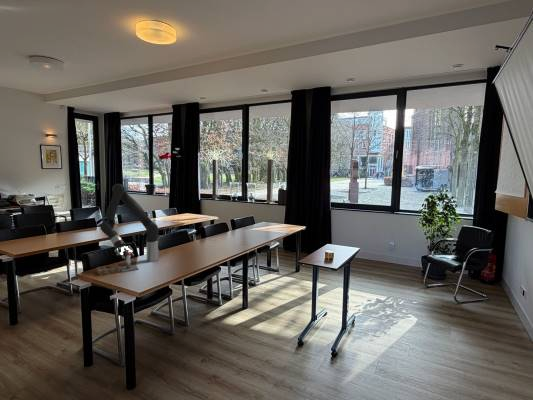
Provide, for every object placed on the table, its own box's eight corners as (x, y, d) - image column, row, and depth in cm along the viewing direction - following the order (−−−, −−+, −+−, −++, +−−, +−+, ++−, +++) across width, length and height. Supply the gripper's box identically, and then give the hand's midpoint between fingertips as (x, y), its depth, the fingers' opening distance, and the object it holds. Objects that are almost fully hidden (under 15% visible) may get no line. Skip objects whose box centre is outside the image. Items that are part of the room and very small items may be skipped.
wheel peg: (130, 267, 250) (130, 252, 249) (131, 268, 247) (131, 253, 246) (125, 267, 248) (124, 252, 247) (126, 269, 244) (126, 253, 243)
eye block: (117, 268, 249) (116, 264, 248) (120, 272, 239) (120, 267, 239) (97, 271, 240) (97, 267, 240) (99, 275, 231) (99, 271, 231)
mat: (134, 266, 256) (134, 265, 256) (138, 269, 246) (138, 268, 246) (118, 268, 249) (118, 267, 248) (122, 272, 239) (122, 271, 239)
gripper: (112, 240, 242) (123, 257, 239) (127, 237, 255) (138, 252, 252) (107, 247, 245) (119, 263, 241) (122, 243, 258) (133, 258, 254)
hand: (128, 257), depth 246 cm, fingers open, 8 cm apart
